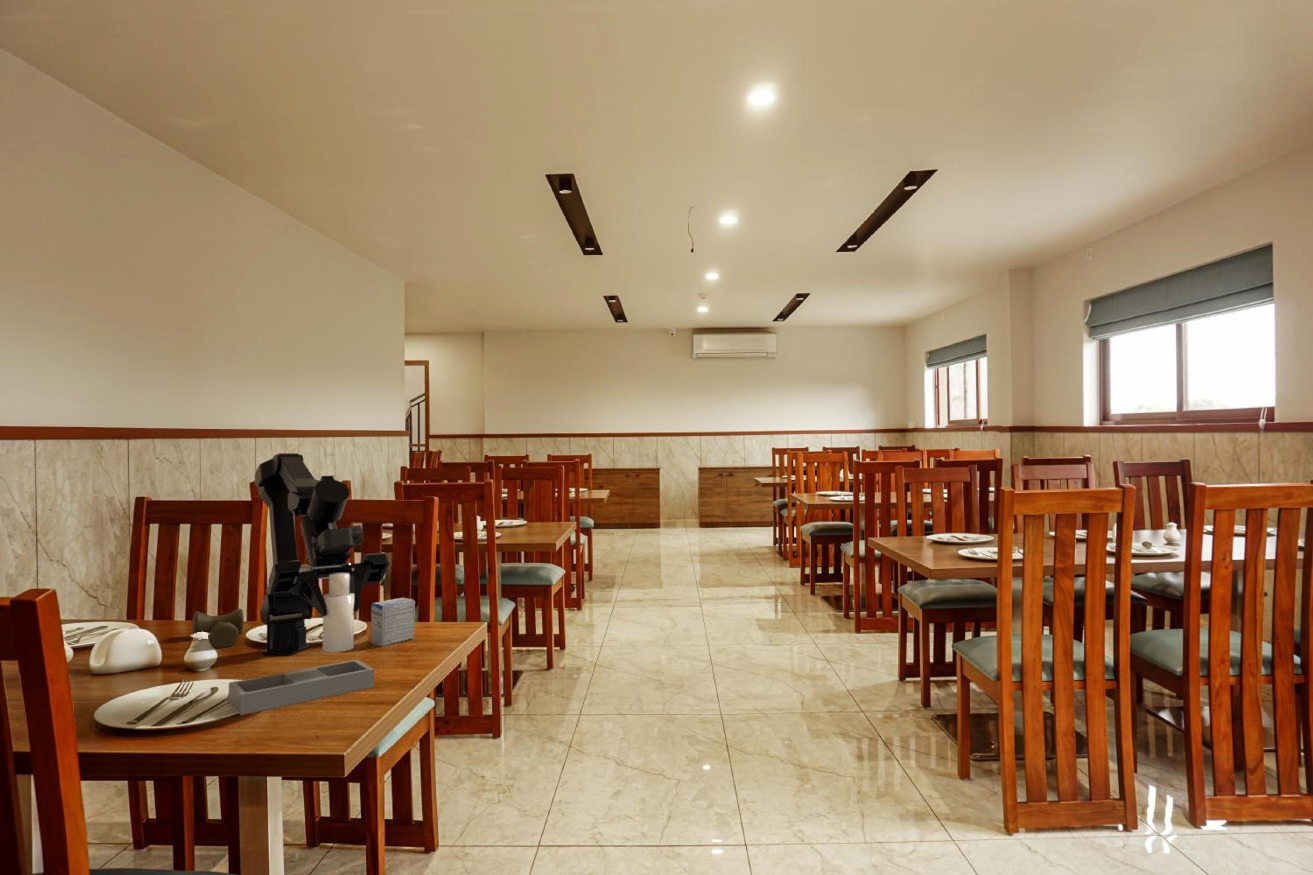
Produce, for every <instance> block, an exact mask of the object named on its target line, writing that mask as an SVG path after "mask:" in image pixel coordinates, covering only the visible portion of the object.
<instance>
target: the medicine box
mask: <svg viewBox="0 0 1313 875" xmlns="http://www.w3.org/2000/svg"><path fill="white" fill-rule="evenodd" d="M415 605H416V601H415V600H414V599H411V598H407V597H400V598H393V599H388V600H383V601H378V602H377V601H376V602H373V603H371V606H370V607H371V608H370V609H371V610H370V611H371V613H370V614H371V615H370V618H371V619H370V620H371V622H370V623H371V625H370V643H371V644H372V645H375V646H378V647H382V646H383V647H386V645H387V646H390V644H391V645H394V644H393V643H395V644H398V643H397V642H399V643H402V642H401V641H403V642H406V641H405V640H407V641H409V640H408V639H411V640H414V639H415V618H416V617H415V614H416V613H415V612H416V611H415V610H416V608H415V607H416V606H415ZM413 638H414V639H413Z"/></svg>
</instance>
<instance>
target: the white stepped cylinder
mask: <svg viewBox="0 0 1313 875" xmlns="http://www.w3.org/2000/svg"><path fill="white" fill-rule="evenodd" d="M349 579H350V574H349V573H333V574H329V578H328V593H327V594H324V595H323V598H324V601H325V604H326V610H327V614H326V616H322V651H323V652H326V653H341V652H346V651H349V650H352V649H354V647H355V646H354V645H355V642H354V641H355V640H354V637H355V636H354V632H355V611H354V593H350V592H349V582H350V580H349Z"/></svg>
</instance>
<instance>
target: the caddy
mask: <svg viewBox="0 0 1313 875" xmlns="http://www.w3.org/2000/svg"><path fill="white" fill-rule="evenodd" d="M373 688H375V669H374V668H373V667H371V666H369V665H368V664H365V663H364V662H362V661H361V660H359V659H353V660H347V661H341V662H336V663H330V664H324V665H320V666H314V667H309V668H302V669H298V670H292V671H286V672H281V673H276V674H275V673H274V674H270V675H264V676H259V677H253V678H247V679H242V680H236V681H231V682H228V703H229V704H230V706H231V707H233V709H234V708H235V709H236V710H237V711H238V712H239V713H238V712H237V711H236V710H235V709H234V710H235V711H236V712H237V713H238V714H239V715H240V716H243V715H244V716H245V715H249V714H253V713H258V712H262V711H263V712H264V711H267V710H273V709H278V708H282V707H283V708H284V707H287V706H291V705H297V704H301V703H307V702H312V701H315V700H316V701H317V700H320V699H325V698H330V697H335V696H339V695H344V694H349V693H354V692H358V691H364V690H368V689H373Z"/></svg>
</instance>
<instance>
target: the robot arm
mask: <svg viewBox="0 0 1313 875" xmlns="http://www.w3.org/2000/svg"><path fill="white" fill-rule="evenodd" d="M254 474H255V475H254V486H255V487H256V488H257V489H258V497H259V498H260V499H261V500H262V502H263V503H264V504H265V505H266V506H267V507H268V512H269V513H268V515H269V527H270V537H271V538H270V539H271V540H270V541H271V550H272V563H273V564H272V567H271V572H270V573H269V577H268V583H267V584H268V586H267V587H266V594H265V595H264V598H263V601H262V604H261V606H260V607H261V608H260V611H259V613H260V622H261V623H262V624H264V625H265V626H266V648H265V649H264V650H261V653H260V654H261V655H283V656H284V655H286V656H287V655H289V656H290V655H294V654H295V653H298V652H300V651H303V650H305V649H307V648H309V647H310V645H309V644H307V626H305V623H306V622H305V621H306V620H312V617H313V609H315V610H316V611H317V612H318V613H319V614H320V615H321V616H322V617H323V616H326V614H327V610H326V604H325V601H324V598H323V596H324V595H323V591H322V589H321V587H320V584H319V580H323V579H329V574H333V573H349V574H350V579H349V592H350V593H354V613H355V612H356V613H357V612H359V609H360V602H361V593H362V588H364V587H365V586H366V585H370V584H378V583H380V582H382V581H383V580H384V577H385V575H386V573H387V571H388V568H389V566H390V560H389V556H388V555H387V554H386V553H384V552H379V553H378V552H376V553H367V554H365V553H364V554H363V555H362V557H361V559H360V562H356V563H350V562H347V560H350V559H351V556H352V554H351V553H352V552H351V549H352V548H354V547H355V546H360V545H361V544H362V543H363V542H364V540H365V537H364V530H363V528H362V525H359V524H357V525H350V526H349V527H345V528H344V527H341V528H339V527H338V526H337V523H336V522H338V521H340V520H341V518H342V516H343V513H344V511H345V507H346V506H347V502H348V499H349V496H350V488H349V487H347V486H346V484H344V483H343V482H341V481H339V480H337V479H336V480H335V478H334V475H321V477H320V480H319V479H316V478H315V477H314V476H313V474H312V472H311V471H310V470H309V468H308V466H307V465H306V464H305V462H304V457H303V455H302V454H299V453H298V452H297V453H296V452H295V453H292V452H291V453H290V452H288V453H287V452H284V453H283V452H280V453H276V454H274V456H273V457H272V458H271V459H269V460H266V461H264V462H262V463H260V464H259V466H257V469H256V471H255V473H254ZM295 517H297V518H298V517H302V519H301V520H300V528H301V538H303V541H304V545H305V548H306V555H305V559H306V561H308V562H309V563H308V564H301V563H302V562H301V560H299V558H298V548H297V537H296V536H297V535H296V527H295Z"/></svg>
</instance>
